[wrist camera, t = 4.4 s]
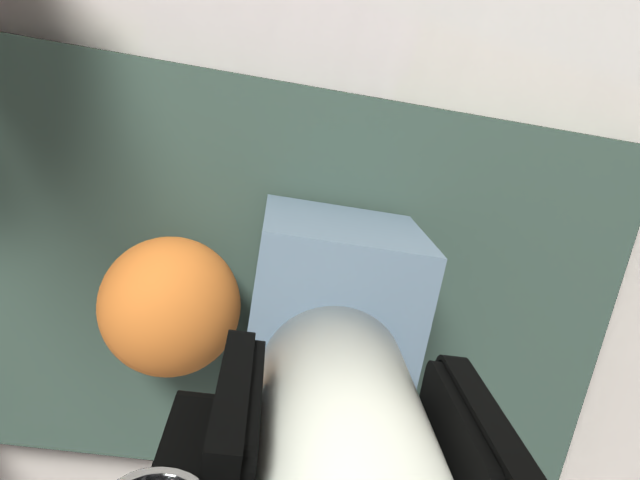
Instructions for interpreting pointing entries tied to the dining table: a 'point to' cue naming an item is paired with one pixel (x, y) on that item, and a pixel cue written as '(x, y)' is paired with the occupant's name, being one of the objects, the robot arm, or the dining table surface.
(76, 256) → the board
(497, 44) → the dining table surface
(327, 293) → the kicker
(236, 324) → the ball
